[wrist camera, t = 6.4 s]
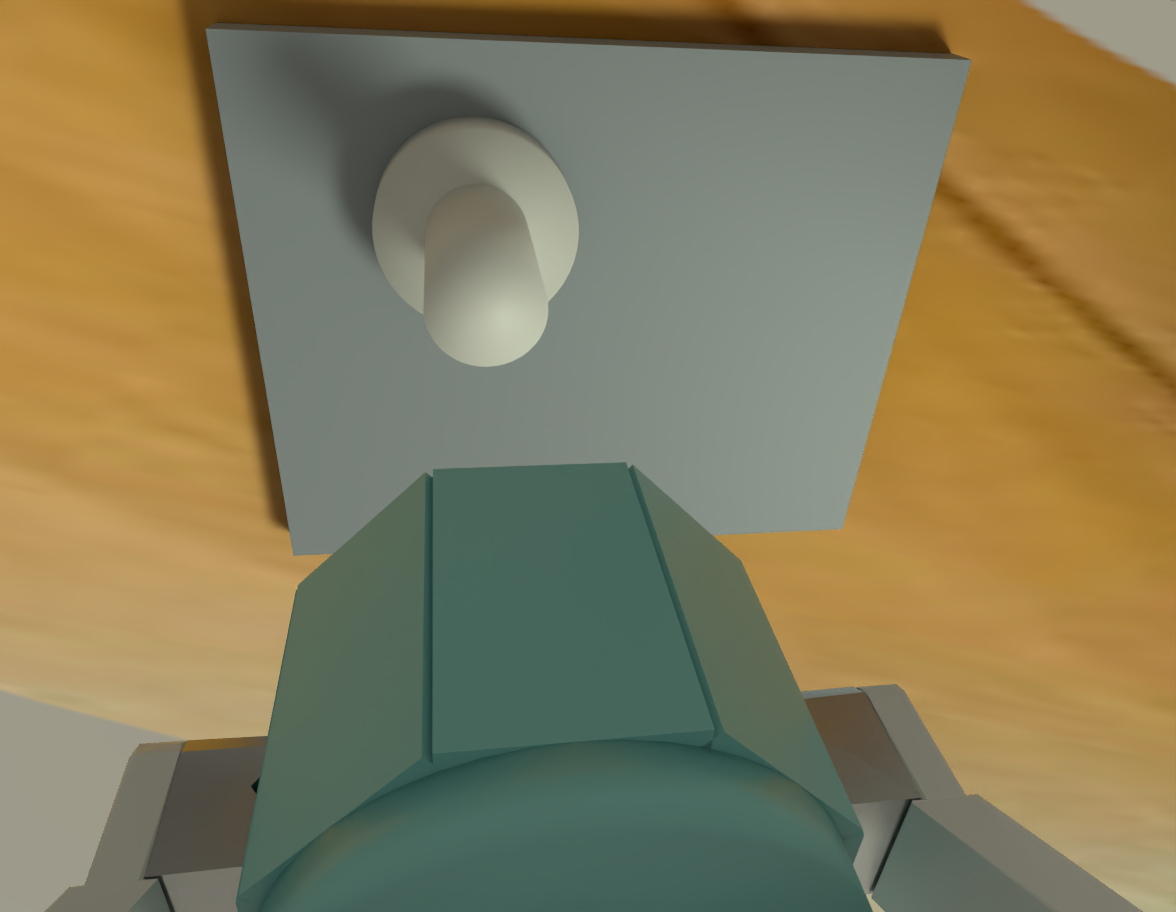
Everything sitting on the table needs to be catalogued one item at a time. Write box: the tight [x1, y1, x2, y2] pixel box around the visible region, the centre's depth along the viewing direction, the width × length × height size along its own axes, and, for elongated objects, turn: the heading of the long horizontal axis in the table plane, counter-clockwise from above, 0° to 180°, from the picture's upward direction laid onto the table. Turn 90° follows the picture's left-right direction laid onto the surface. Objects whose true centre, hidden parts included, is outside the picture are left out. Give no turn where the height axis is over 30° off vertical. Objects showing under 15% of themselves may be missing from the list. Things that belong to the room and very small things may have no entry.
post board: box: [206, 23, 972, 556], centre depth 27 cm, size 22×18×8 cm
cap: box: [235, 462, 873, 912], centre depth 10 cm, size 6×6×5 cm
